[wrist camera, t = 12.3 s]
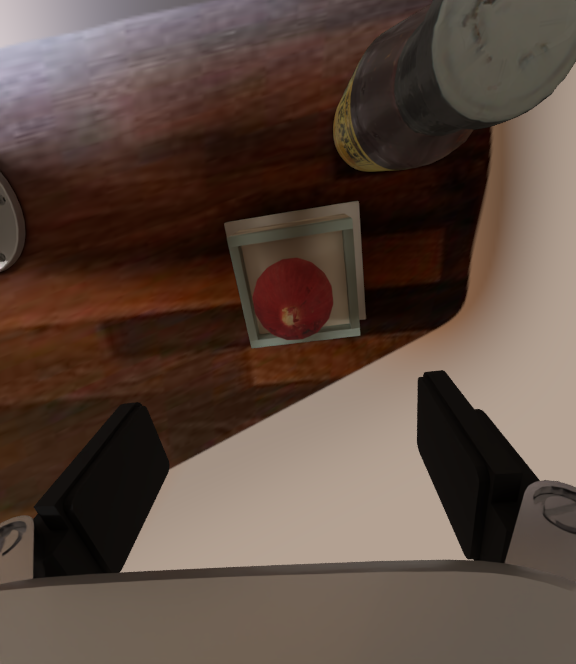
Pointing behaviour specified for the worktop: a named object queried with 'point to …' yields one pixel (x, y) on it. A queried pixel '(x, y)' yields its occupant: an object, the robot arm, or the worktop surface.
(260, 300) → the onion
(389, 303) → the worktop surface
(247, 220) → the open box
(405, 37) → the sauce bottle
